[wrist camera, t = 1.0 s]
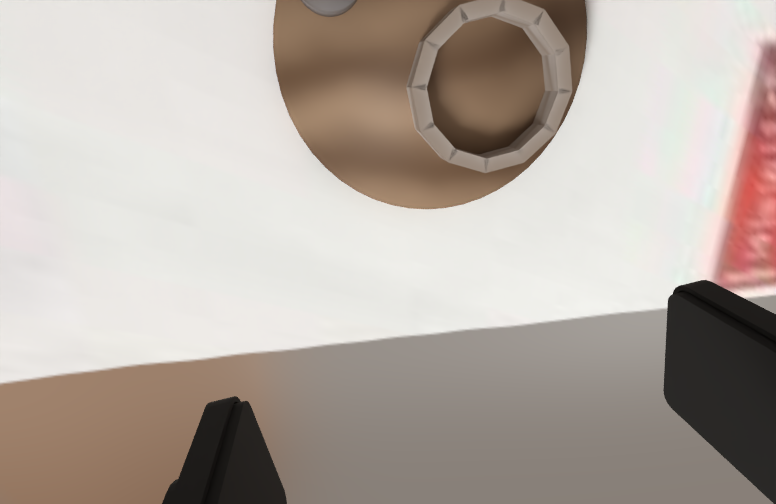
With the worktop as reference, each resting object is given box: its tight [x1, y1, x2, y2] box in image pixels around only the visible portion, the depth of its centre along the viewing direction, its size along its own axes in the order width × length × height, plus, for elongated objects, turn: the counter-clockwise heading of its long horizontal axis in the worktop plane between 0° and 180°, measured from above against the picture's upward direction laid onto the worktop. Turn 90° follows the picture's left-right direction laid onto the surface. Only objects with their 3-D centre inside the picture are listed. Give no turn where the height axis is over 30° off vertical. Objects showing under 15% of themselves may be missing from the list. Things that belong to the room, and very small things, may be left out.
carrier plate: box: [273, 0, 587, 209], centre depth 30 cm, size 22×22×4 cm
